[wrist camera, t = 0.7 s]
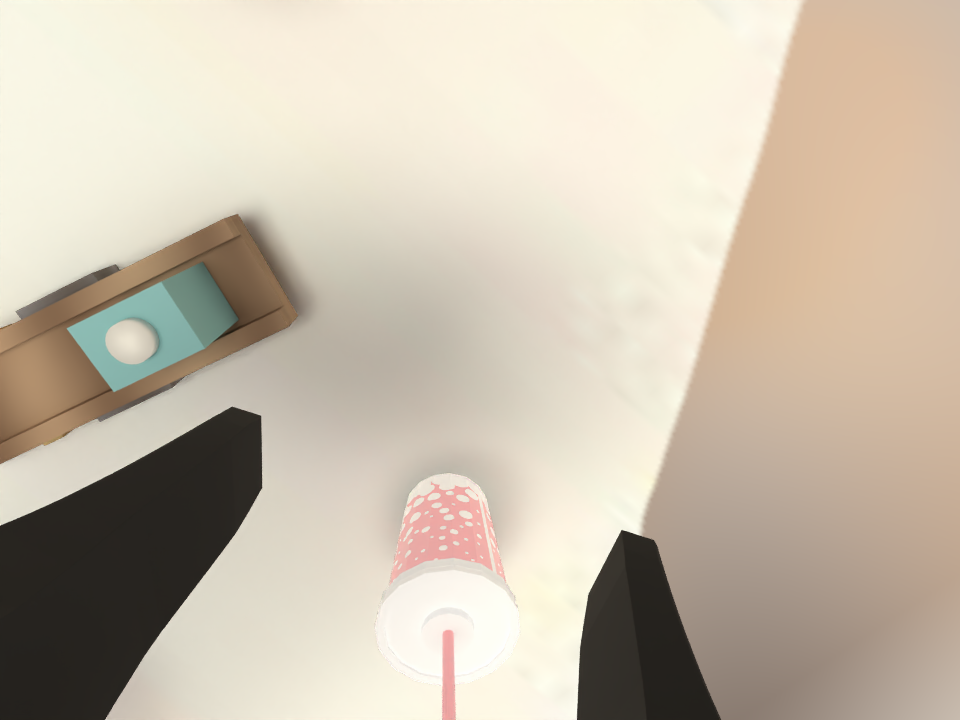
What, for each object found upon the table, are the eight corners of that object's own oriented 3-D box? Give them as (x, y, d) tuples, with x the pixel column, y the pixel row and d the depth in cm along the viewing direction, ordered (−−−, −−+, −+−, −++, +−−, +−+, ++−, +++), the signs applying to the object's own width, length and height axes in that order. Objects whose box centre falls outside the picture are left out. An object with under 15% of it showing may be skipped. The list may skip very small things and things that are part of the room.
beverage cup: (368, 505, 33) (320, 739, 20) (453, 439, 32) (460, 641, 19) (441, 573, 35) (439, 828, 22) (523, 513, 34) (573, 743, 21)
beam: (5, 459, 31) (-51, 500, 28) (-79, 361, 29) (-151, 391, 26) (312, 313, 30) (294, 336, 26) (245, 199, 28) (216, 207, 24)
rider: (160, 357, 27) (105, 398, 22) (121, 301, 26) (56, 333, 21) (238, 319, 26) (198, 353, 22) (202, 261, 25) (153, 285, 21)
